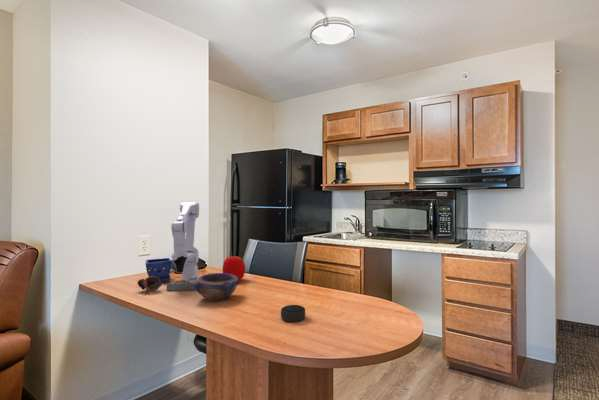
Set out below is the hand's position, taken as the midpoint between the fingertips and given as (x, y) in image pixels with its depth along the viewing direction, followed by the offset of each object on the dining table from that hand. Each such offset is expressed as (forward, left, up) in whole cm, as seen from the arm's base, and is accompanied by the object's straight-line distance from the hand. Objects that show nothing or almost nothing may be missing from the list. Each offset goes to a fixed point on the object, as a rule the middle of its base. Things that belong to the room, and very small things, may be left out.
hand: (180, 271), depth 173 cm
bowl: (+18, +24, -9) cm, 32 cm away
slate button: (0, +7, -7) cm, 9 cm away
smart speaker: (+45, +60, -9) cm, 76 cm away
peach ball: (0, -1, -8) cm, 8 cm away
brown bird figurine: (+4, -14, -9) cm, 17 cm away
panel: (0, +6, -8) cm, 11 cm away
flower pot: (-17, -20, -9) cm, 27 cm away
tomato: (-15, +23, -9) cm, 29 cm away
